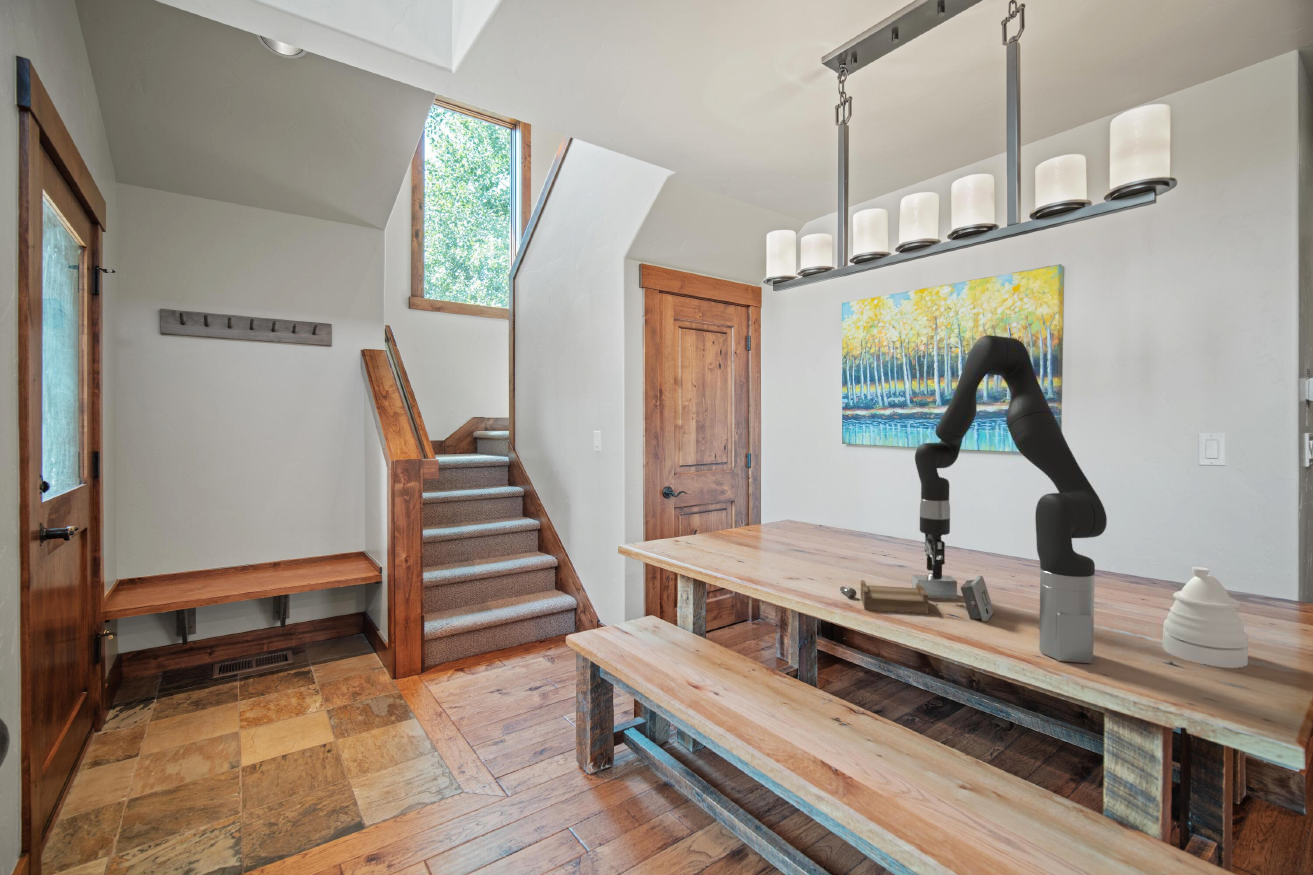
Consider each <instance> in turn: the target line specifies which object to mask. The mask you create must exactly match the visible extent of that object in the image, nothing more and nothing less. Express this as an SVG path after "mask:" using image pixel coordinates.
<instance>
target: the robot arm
mask: <svg viewBox="0 0 1313 875" xmlns="http://www.w3.org/2000/svg"><path fill="white" fill-rule="evenodd" d="M963 366H964V367H963V368H962V372H961V374H960V377H959V379H958V383H957V386H956V388H955V391H954V393H953V396H952V398H951V401H950V402H949V405H948V407H947V408H946V410H945V412H944V413H943V415H942V417H941V419H940V420H939V422H938V423H937V426H936V427H935V431H934V432H935V435H936V437H937V438H938V439H939V440H940V441H939V442H925V443H921V444H920V445H919V446H918V447H917V449H916V450H915V455H914V461H915V466H916V470H917V474H918V477H919V482H920V504H919V532H920V533H922V534H924V552H925V556H926V570H928V571H929V572H930V571H931V572H932V574H933V578H934V579H941V578H942V575H943V565H945V564H946V561H945V557H946V555H945V554H946V553H945V552H946V551H945V549H946V547H945V545H946V543H945V541H944V540H942V536H946V535H949V534H950V533H951V504H950V481H949V479H947V478H945V477H941V476H940V475H939V472H938V469H946V468H950V467H952V466H953V465H954V464H955V463H956V462H957V460H958V458H959V455H960V450H961V447H962V443H963V438H964V437H965V436H966V434H967V433H968V431H969V430H970V428H971V426H972V425H973V423H974V421H975V418H976V416H977V408H978V407H977V392H978V388H979V385H980V384H981V382H982V381H983V379H984V378H985V377H986V376H987V375H991V376H1000V377H1001V378H1002V379H1003V380H1004V382H1005V384H1006V386H1007V388H1008V390H1009V392H1010V402H1009V404H1008V408H1007V412H1006V420H1005V422H1006V426H1007V428H1008V431H1009V434H1010V437H1011V438H1012V440H1013V443H1014V445H1015V447H1016V449H1017V450H1018V451H1019V453H1020V454H1021V455H1022V456H1023V457H1024V458H1026V460H1028V461H1029V462H1030V463H1031V464H1032V465H1033V466H1035V467H1036V468H1037V469H1039V470H1040V471H1041V473H1044V474H1045V475H1046V476H1047V478H1049V479H1050V481H1051V482H1052V483H1053V485H1054V486H1055V487H1056V490H1057V491H1058V492H1051V493H1046V494H1043V495H1042V496H1041V497H1040V498H1039V500H1037V504H1036V507H1035V516H1034V517H1035V518H1034V519H1035V533H1036V534H1035V535H1036V538H1035V539H1036V553H1037V555H1038V558H1039V562H1040V563H1039V567H1040V568H1039V569H1040V570H1039V572H1040V574H1039V627H1038V628H1039V630H1038V631H1039V633H1038V634H1039V635H1038V636H1039V642H1038V643H1039V644H1038V648H1039V651H1040V652H1041V653H1042V654H1044V655H1045V656H1048V657H1050V658H1052V659H1055V660H1056V661H1057V662H1071V663H1080V664H1081V663H1082V664H1093V662H1094V648H1095V647H1094V641H1095V640H1094V639H1095V638H1094V636H1095V634H1094V630H1095V584H1096V583H1095V580H1096V579H1095V577H1096V576H1095V574H1096V570H1095V569H1096V568H1095V567H1096V566H1095V562H1094V560H1093V559H1092V558H1090V557H1088V556H1086V555H1083V554H1080V553H1077V552H1076V551H1075V550H1074V547H1073V539H1089V538H1096V537H1100V536H1101V535H1102V534H1104V532H1105V530H1106V528H1107V524H1108V523H1107V521H1108V520H1107V519H1108V516H1107V514H1106V510H1105V507H1104V504H1103V502H1102V500H1101V499H1100V497H1099V494H1097V492H1096V491H1095V490H1096V489H1094V488H1093V486H1092V484H1091V482H1089V480H1088V478H1087V476H1086V475H1085V473H1084V472H1083V470H1082V468H1081V467H1080V465H1079V463H1078V462H1077V460H1076V458H1075V456H1074V454H1073V452H1072V450H1071V448H1070V447H1069V445H1068V443H1067V441H1066V439H1065V436H1064V435H1063V431H1062V428H1061V427H1060V425H1059V423H1058V420H1057V419H1056V418H1057V417H1055V416H1056V415H1055V414H1054V412H1053V411H1052V409H1051V407H1050V406H1049V403H1048V401H1047V399H1046V397H1045V394H1044V392H1043V389H1042V388H1041V386H1040V384H1039V380H1038V377H1037V375H1036V372H1035V369H1034V366H1033V363H1032V360H1031V356H1030V355H1029V351H1028V350H1027V347H1026V346H1025V344H1024V342H1022V341H1021V340H1019V339H1017V338H1013V337H1006V336H1001V335H1000V336H999V335H992V334H989V335H984V336H983V335H982V336H981V337H979V338H978V339H977V340H976V341H975V342H974V344H973V346H972V348H971V349H970V351H969V352H968V356H967V358H966V361H965V364H964V365H963ZM937 558H939V559H937Z"/></svg>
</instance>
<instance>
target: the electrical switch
mask: <svg viewBox="0 0 1313 875" xmlns="http://www.w3.org/2000/svg"><path fill="white" fill-rule="evenodd" d="M960 591H961V594H962V596H963V600H964V604H965V606H966V607H965V608H966V611H967V613H968V617H969V620H978V619H980V620H981V621H982V622H983V623H984V622H985V623H986V622H988V621H989V619H990V618H991V617H992V615H993V614H994V612H995V611H994V608H993V605H992V602H991V601H992V600H991V598H990V595H989V591H988V587H987V585H986V582H985V579H984V576H983V575H978V576H977V577H976V578H975V579H971V580H966V581H965V582H964V583H963V584H962V585H961V586H960Z"/></svg>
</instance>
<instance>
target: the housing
mask: <svg viewBox="0 0 1313 875" xmlns="http://www.w3.org/2000/svg"><path fill="white" fill-rule="evenodd" d="M916 583H920V584H921V586H922V587H923V589H924V590H925V592H926V593H927V595H928V599H946V598H950V600H952V599H953V600H956V599H958V580H956V579H955V578H954V577H952V576H951V575H943V574H942V578H941V579H934V578H933V573H928V574H911V588H916Z"/></svg>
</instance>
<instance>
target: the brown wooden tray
mask: <svg viewBox="0 0 1313 875" xmlns="http://www.w3.org/2000/svg"><path fill="white" fill-rule="evenodd" d="M860 598H861V602H862V605H863V610H865V611H881V612H882V611H883V612H894V611H900V612H899V613H909V612H912V614H924V615H925V614H927V615H928V614H929V601H928V600H929V598H928V595H927V593H926V592H925V590H924V589H923V587H922V586H921V584H920V583H916V588H912V587H901V586H884V585H868V584H867V583H866V581H865V580H864V579H860ZM901 611H903V612H901Z"/></svg>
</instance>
